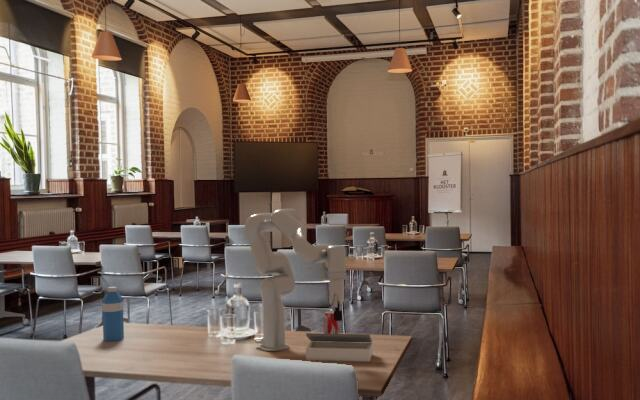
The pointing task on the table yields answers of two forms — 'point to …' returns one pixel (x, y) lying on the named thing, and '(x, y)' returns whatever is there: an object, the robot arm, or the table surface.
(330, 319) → the soda can
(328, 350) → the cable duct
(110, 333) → the water bottle
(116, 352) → the table surface
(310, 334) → the lid
